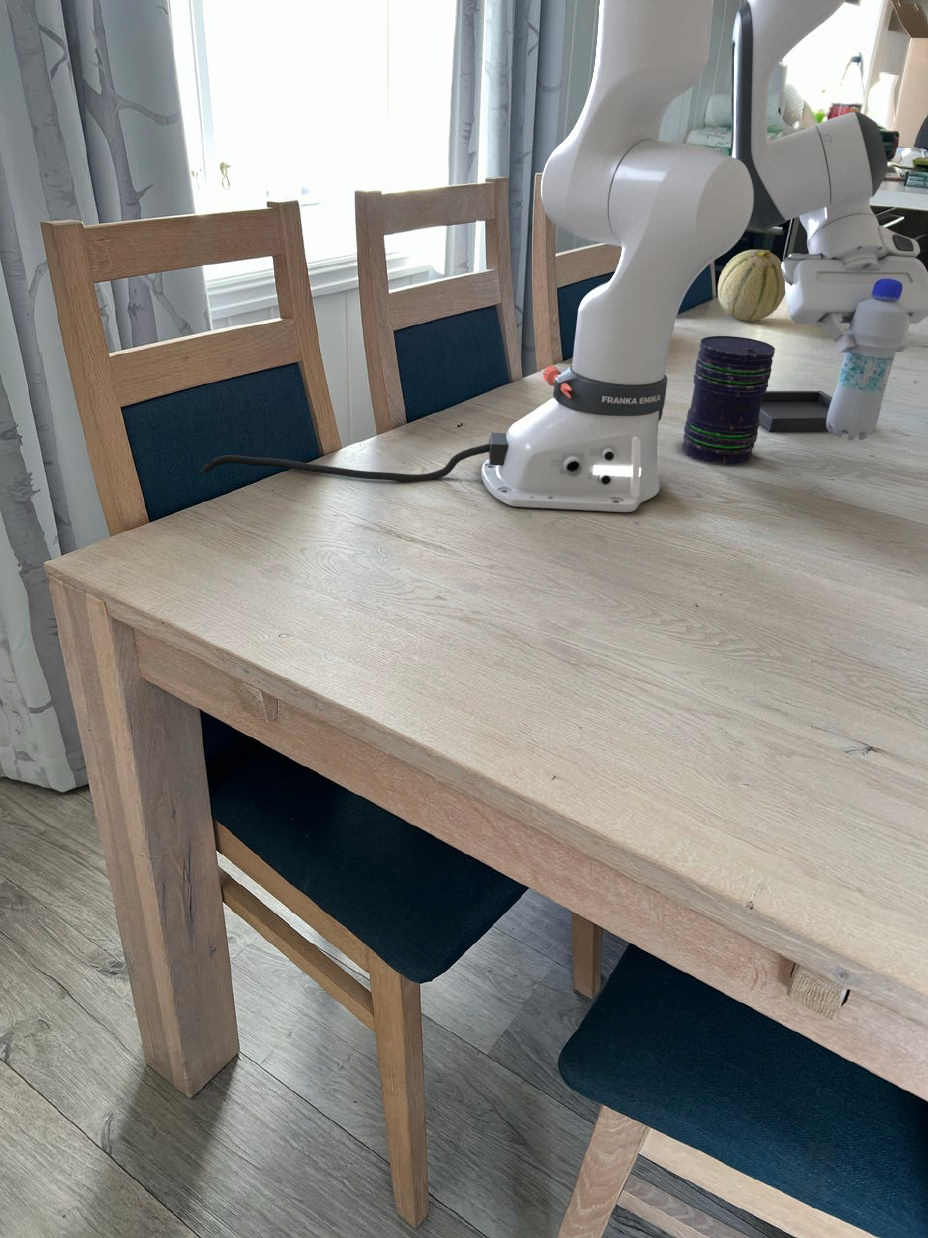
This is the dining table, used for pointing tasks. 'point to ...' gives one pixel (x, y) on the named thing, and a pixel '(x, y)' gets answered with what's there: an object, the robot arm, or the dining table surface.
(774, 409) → the tray
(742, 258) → the cantaloupe
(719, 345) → the navy striped cylinder
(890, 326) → the bottle
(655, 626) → the dining table surface
